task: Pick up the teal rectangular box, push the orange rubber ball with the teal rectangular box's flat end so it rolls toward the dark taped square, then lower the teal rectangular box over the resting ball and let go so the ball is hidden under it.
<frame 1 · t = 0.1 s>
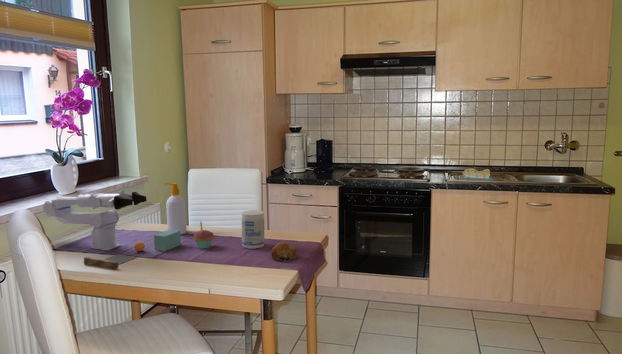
hand: (138, 200, 190), 22 cm above the table, tool horizontal, fingers open, 7 cm apart
teal rectangular box: (168, 247, 200), on the table
cupcake: (203, 247, 200), on the table
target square: (117, 259, 184), on the table
stopper strip: (100, 266, 176), on the table
soap bottle: (176, 233, 223), on the table
ball: (139, 246, 194), on the table
bread roll: (283, 258, 185), on the table
supplement tub: (253, 246, 200), on the table
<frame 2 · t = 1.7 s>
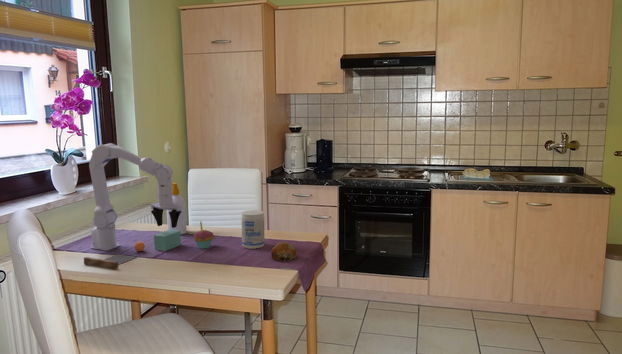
hand: (167, 226, 199), 9 cm above the table, tool pointing down, fingers open, 7 cm apart
nothing on the table moved.
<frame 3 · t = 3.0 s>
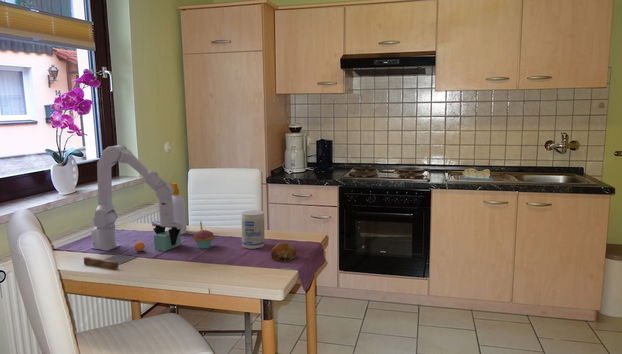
hand: (167, 243, 200), 1 cm above the table, tool pointing down, fingers closed on teal rectangular box, 6 cm apart
teal rectangular box: (168, 247, 200), on the table, touching gripper
everything else where it was.
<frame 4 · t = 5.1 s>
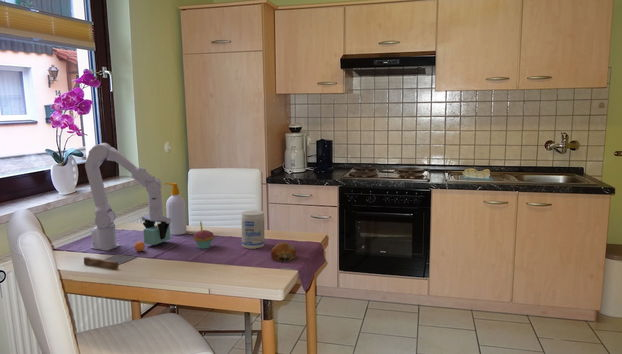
hand: (157, 238, 204), 3 cm above the table, tool pointing down, fingers closed on teal rectangular box, 6 cm apart
teal rectangular box: (157, 241, 204), point 1 cm above the table, touching gripper
everything else where it was.
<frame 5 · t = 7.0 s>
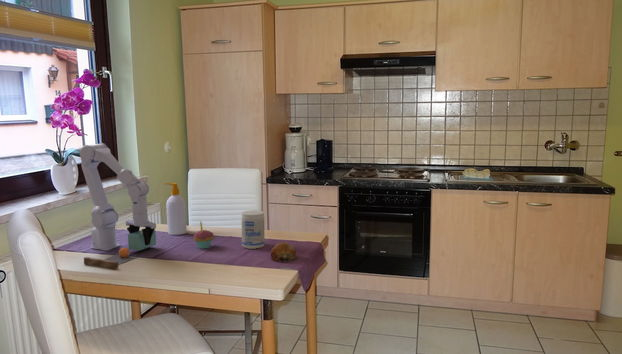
hand: (141, 243, 195), 3 cm above the table, tool pointing down, fingers closed on teal rectangular box, 6 cm apart
teal rectangular box: (142, 246, 196), point 1 cm above the table, touching gripper
ball: (124, 252, 186), on the table
everything else where it was.
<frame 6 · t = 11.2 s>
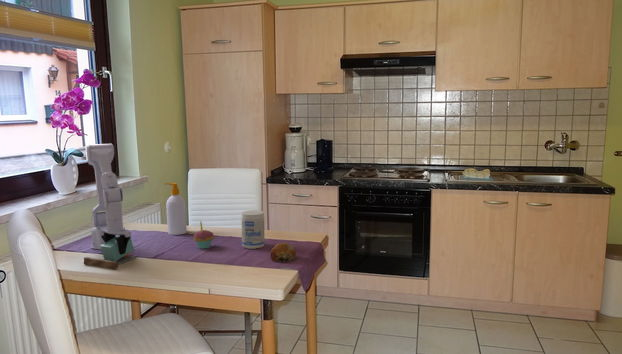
hand: (117, 252, 183), 3 cm above the table, tool pointing down, fingers closed on teal rectangular box, 6 cm apart
teal rectangular box: (119, 254, 184), point 2 cm above the table, tilted 13°, touching gripper
when the fingers open (2 cm above the table, at t = 12.0 s): teal rectangular box drops 1 cm, on the table.
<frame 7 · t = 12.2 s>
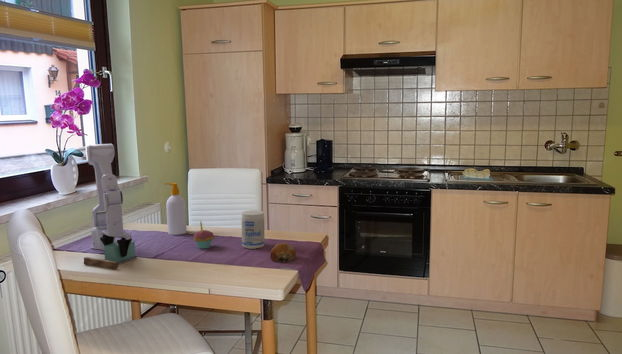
hand: (117, 255, 183), 2 cm above the table, tool pointing down, fingers open, 7 cm apart
teal rectangular box: (120, 258, 185), on the table
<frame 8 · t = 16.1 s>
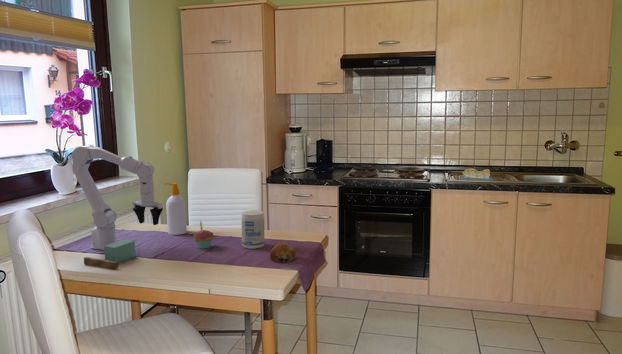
hand: (148, 223, 200), 10 cm above the table, tool pointing down, fingers open, 7 cm apart
at the end: ball 2.2 cm from the teal rectangular box (horizontally); teal rectangular box on the table; ball moved 8.4 cm from its start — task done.
